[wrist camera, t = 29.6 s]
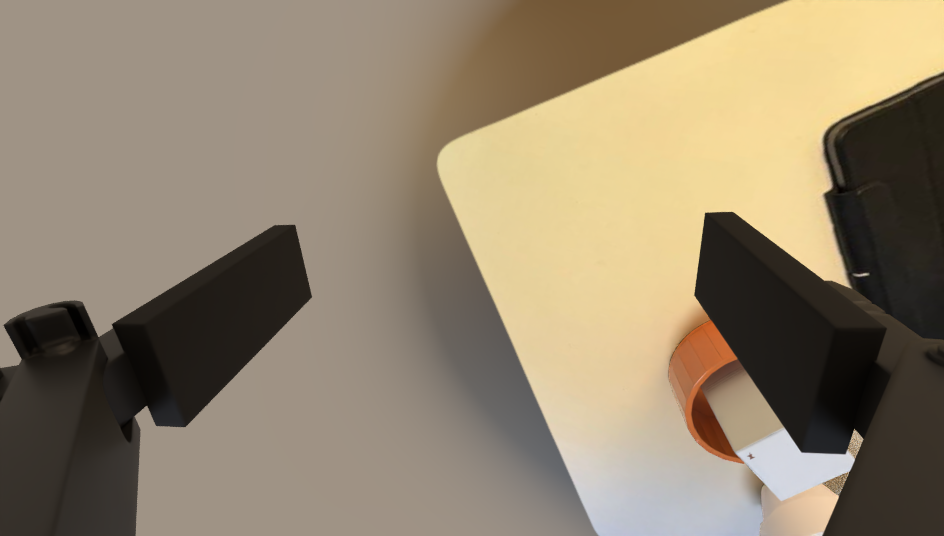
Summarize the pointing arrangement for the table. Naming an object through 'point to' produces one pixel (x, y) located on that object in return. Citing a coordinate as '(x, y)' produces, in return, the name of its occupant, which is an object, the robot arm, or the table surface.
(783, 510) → the potted plant
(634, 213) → the table surface
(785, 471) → the white packaging box
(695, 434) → the orange round bowl
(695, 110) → the table surface
